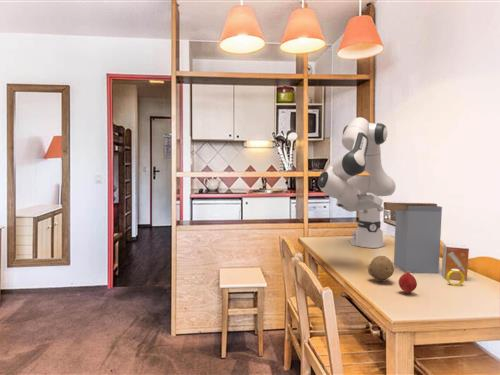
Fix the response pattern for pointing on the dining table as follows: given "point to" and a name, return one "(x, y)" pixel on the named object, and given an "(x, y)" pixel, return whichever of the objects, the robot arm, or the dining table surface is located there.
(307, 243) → the dining table surface
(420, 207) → the stand
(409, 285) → the red rounded lump
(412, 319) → the dining table surface
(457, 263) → the small box
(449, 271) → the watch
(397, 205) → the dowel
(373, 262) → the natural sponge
